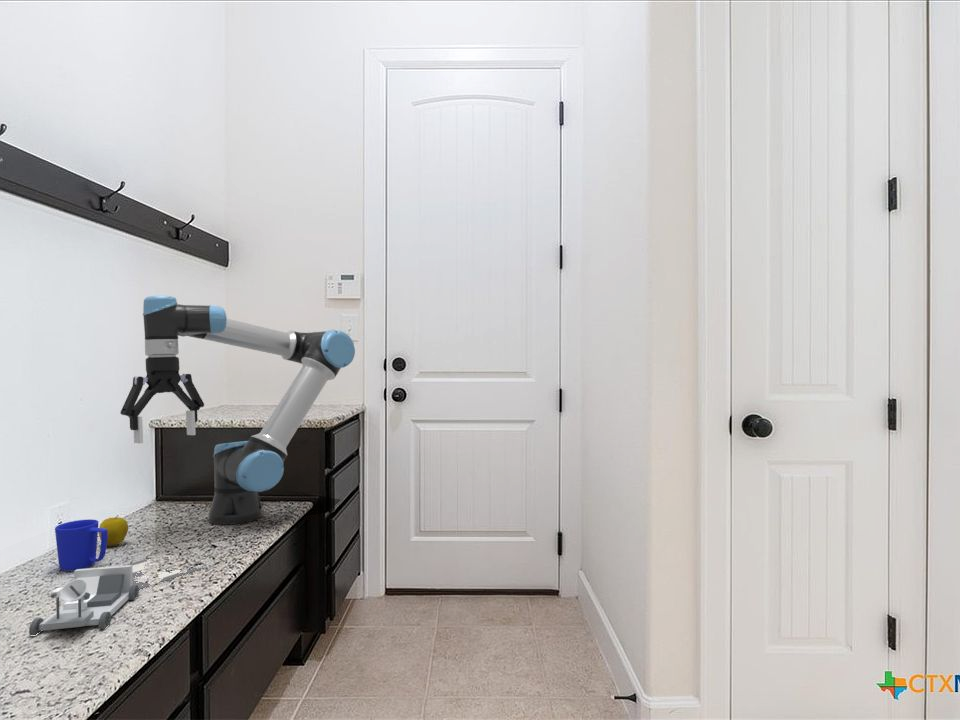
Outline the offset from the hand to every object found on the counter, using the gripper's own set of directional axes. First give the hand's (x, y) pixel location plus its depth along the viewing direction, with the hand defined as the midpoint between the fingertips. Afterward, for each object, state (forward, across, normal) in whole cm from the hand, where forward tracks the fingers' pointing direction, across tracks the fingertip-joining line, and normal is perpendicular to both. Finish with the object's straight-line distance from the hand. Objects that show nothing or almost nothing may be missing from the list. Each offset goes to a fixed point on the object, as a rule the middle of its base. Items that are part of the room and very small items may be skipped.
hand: (166, 439), depth 145 cm
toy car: (+28, -32, -27) cm, 50 cm away
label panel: (+27, -13, -14) cm, 33 cm away
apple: (+28, -7, +13) cm, 31 cm away
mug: (+27, -19, +2) cm, 33 cm away
